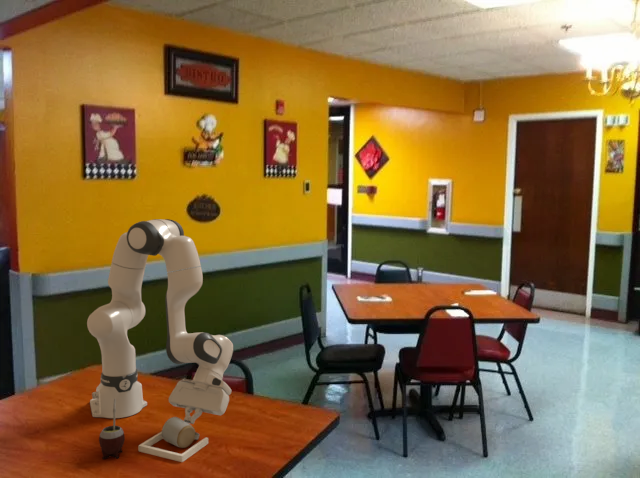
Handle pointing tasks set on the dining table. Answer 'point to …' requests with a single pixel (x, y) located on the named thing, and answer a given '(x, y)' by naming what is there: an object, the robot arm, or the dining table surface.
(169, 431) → the ceramic mug
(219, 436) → the dining table surface
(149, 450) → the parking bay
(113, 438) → the mate gourd
